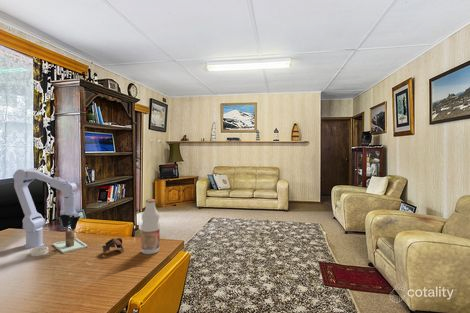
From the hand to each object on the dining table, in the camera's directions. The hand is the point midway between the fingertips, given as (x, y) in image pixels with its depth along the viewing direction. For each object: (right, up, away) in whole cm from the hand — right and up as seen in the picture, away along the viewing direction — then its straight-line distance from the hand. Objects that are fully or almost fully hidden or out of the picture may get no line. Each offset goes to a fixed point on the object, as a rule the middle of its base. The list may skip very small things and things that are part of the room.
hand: (69, 228), depth 146 cm
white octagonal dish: (-8, -10, -12) cm, 18 cm away
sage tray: (+1, -10, -1) cm, 10 cm away
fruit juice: (+48, -11, -7) cm, 50 cm away
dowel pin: (+1, -10, -1) cm, 10 cm away
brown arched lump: (+29, -11, -7) cm, 32 cm away
